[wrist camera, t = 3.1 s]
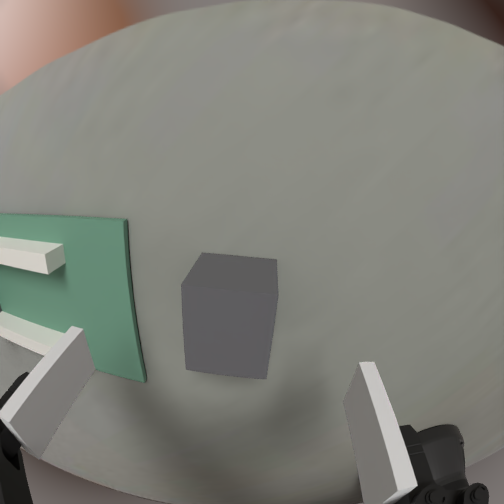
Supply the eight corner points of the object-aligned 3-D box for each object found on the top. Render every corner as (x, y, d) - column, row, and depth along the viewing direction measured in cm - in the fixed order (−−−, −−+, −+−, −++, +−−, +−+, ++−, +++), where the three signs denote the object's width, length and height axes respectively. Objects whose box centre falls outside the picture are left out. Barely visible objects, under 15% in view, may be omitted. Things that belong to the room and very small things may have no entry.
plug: (267, 333, 21) (266, 379, 16) (199, 326, 21) (182, 369, 17) (276, 259, 19) (278, 294, 14) (199, 252, 19) (177, 284, 15)
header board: (146, 378, 24) (117, 439, 17) (1, 329, 24) (-33, 360, 17) (127, 219, 19) (60, 256, 12) (-27, 212, 19) (-75, 233, 12)
